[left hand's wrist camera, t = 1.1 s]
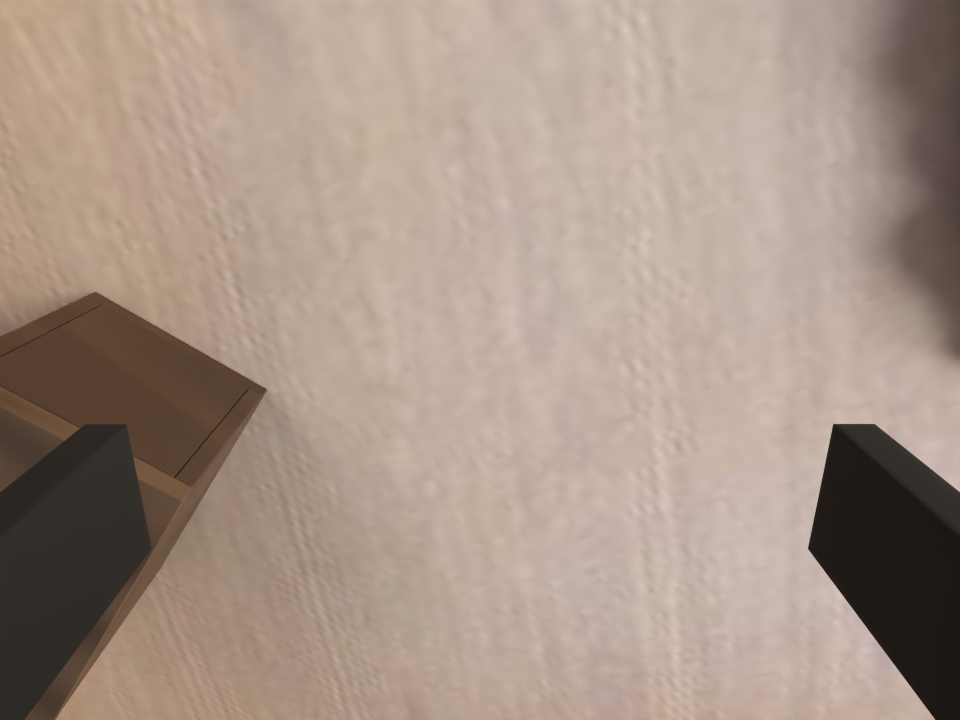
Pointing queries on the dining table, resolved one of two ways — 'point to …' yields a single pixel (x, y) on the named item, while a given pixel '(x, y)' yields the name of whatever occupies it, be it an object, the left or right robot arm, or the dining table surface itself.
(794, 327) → the dining table surface
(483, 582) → the dining table surface
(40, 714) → the lid
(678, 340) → the dining table surface
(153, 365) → the chest
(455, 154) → the dining table surface
